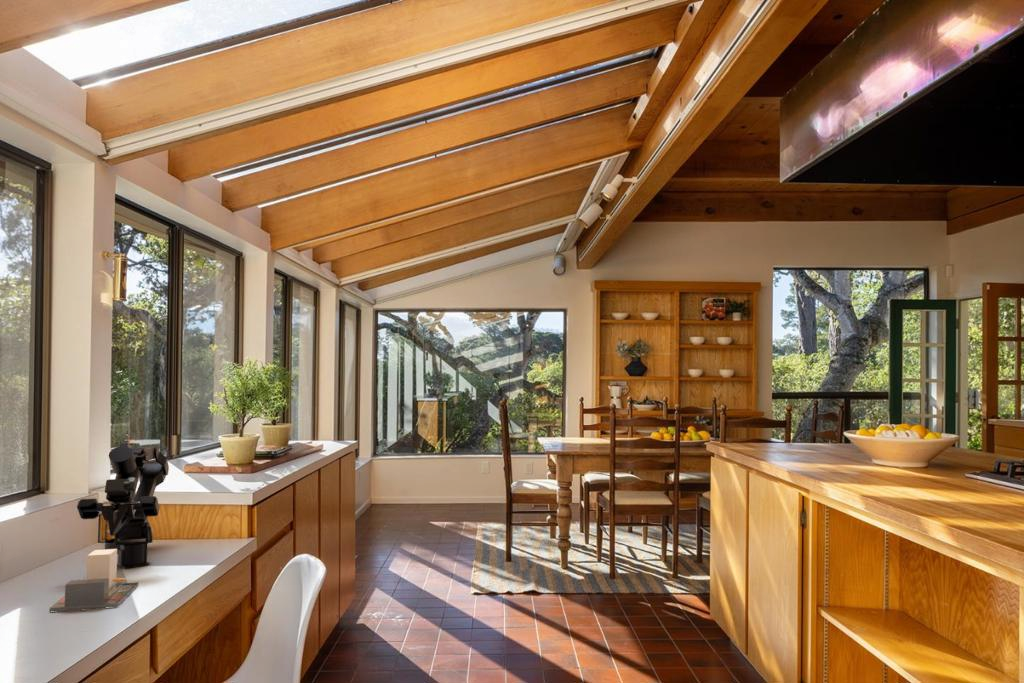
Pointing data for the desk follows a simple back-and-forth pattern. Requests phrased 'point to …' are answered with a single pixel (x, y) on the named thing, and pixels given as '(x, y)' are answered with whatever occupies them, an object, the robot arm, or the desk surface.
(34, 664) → the desk surface
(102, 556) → the cream box
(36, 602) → the desk surface
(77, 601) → the gauge base
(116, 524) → the robot arm
